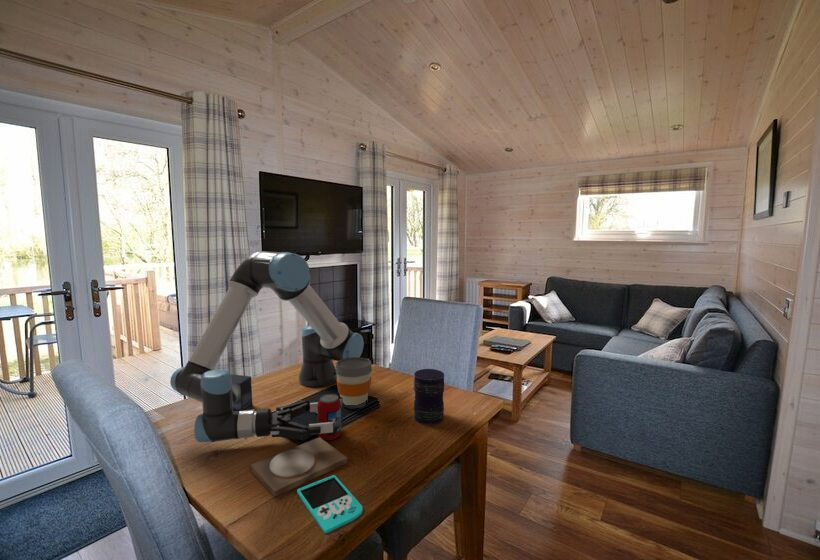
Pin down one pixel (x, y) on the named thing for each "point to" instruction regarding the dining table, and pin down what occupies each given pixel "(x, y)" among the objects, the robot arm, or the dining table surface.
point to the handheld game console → (330, 503)
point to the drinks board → (297, 466)
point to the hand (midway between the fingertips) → (332, 415)
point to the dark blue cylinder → (428, 396)
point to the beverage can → (330, 415)
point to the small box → (241, 392)
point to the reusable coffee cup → (353, 379)
